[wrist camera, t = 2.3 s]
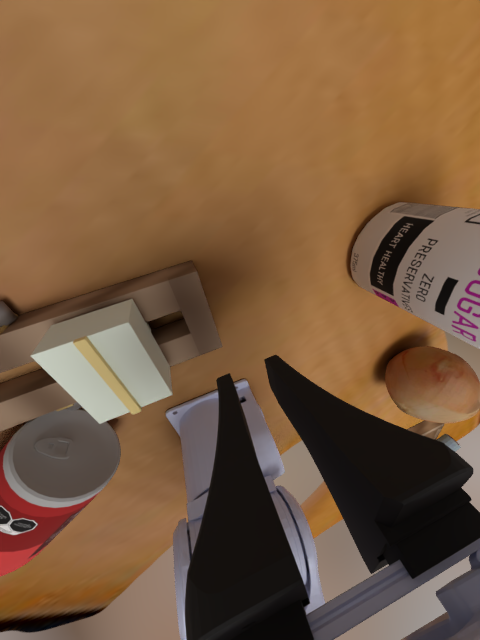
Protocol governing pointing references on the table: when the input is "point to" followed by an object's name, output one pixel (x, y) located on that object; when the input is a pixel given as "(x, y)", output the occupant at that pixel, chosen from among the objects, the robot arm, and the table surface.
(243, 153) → the table surface
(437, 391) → the onion
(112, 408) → the rider
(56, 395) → the wooden slotted frame
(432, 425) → the foil cradle
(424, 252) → the supplement can
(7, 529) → the canned food
